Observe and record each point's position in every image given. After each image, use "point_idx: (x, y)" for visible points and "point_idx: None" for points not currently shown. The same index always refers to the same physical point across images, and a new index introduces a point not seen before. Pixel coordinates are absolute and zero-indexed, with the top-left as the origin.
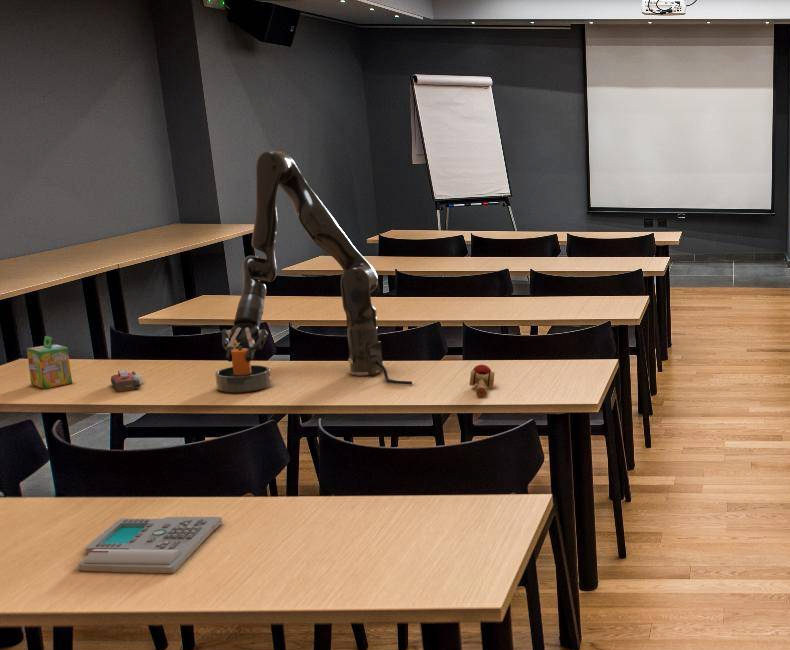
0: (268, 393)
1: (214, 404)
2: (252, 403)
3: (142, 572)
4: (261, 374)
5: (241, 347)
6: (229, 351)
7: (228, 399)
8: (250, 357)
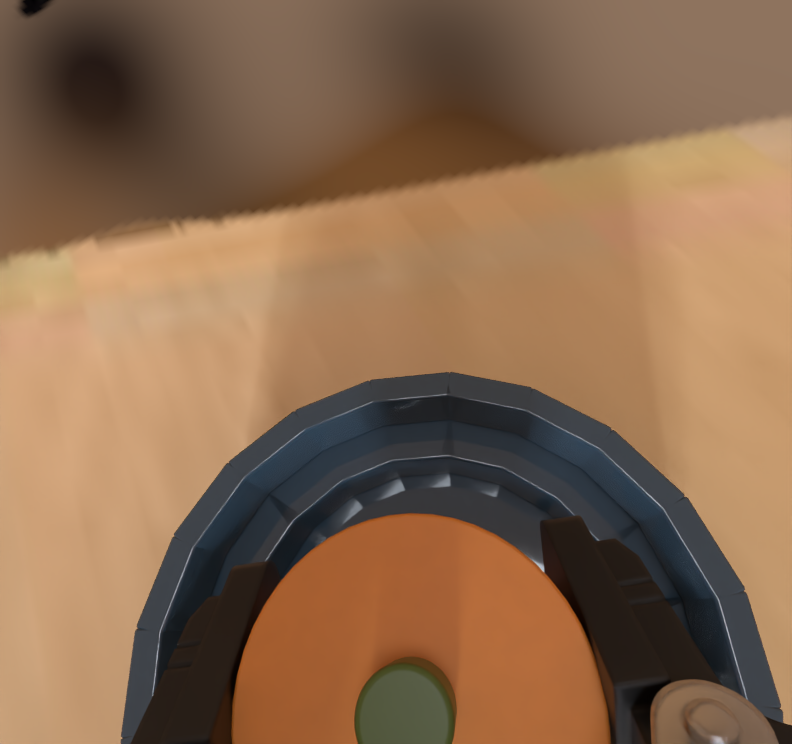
0: (161, 486)
1: (402, 198)
2: (188, 255)
3: None
4: (166, 560)
5: (358, 704)
6: (603, 603)
7: (375, 301)
8: (211, 597)
